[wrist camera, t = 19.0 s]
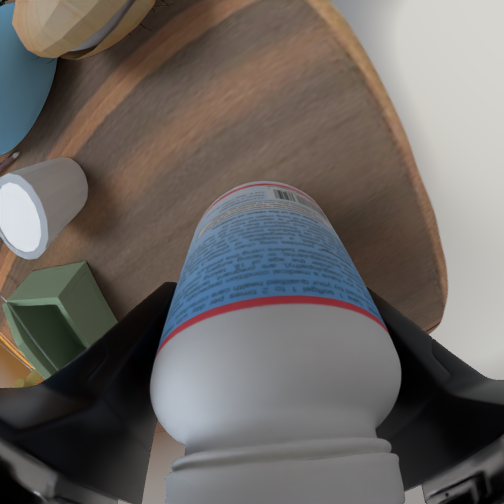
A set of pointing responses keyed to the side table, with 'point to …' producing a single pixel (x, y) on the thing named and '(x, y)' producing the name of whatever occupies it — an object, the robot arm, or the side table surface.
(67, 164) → the shot glass
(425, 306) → the side table surface
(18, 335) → the lid
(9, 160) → the pen
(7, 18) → the sugar bowl
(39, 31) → the sculpture
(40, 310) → the chest
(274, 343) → the pill bottle
